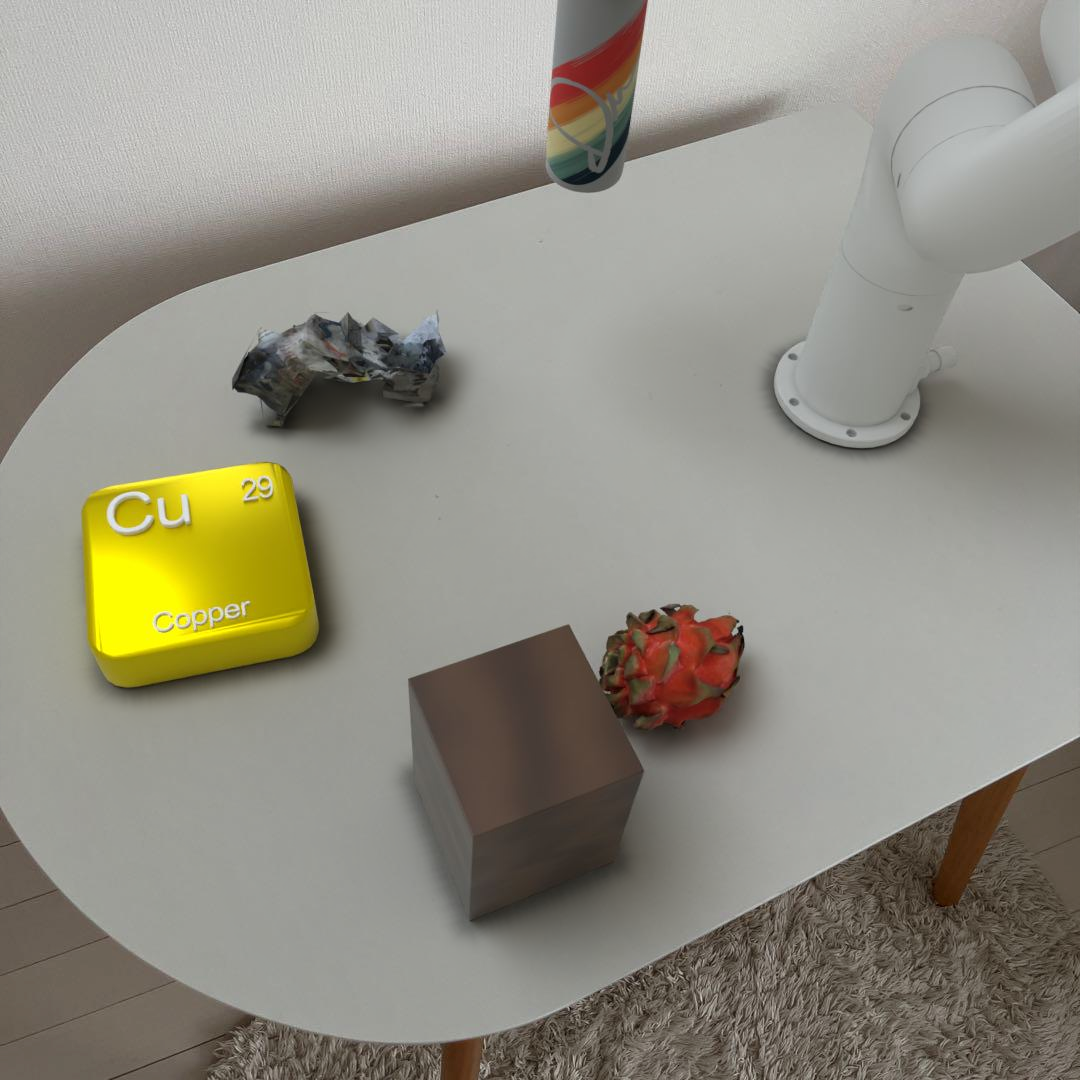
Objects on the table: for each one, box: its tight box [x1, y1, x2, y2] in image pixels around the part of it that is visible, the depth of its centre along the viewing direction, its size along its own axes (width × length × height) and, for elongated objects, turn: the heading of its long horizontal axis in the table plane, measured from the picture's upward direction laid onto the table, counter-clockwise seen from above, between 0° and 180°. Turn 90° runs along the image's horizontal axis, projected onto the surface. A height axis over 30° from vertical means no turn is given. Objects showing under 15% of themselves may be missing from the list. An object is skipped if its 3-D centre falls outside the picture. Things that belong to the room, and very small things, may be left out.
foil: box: [231, 309, 447, 428], centre depth 92 cm, size 12×11×15 cm
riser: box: [407, 623, 645, 922], centre depth 67 cm, size 10×10×14 cm
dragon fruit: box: [598, 603, 746, 732], centre depth 76 cm, size 8×8×12 cm
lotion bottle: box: [545, 0, 649, 194], centre depth 72 cm, size 6×6×20 cm
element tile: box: [80, 461, 320, 689], centre depth 80 cm, size 15×15×5 cm
